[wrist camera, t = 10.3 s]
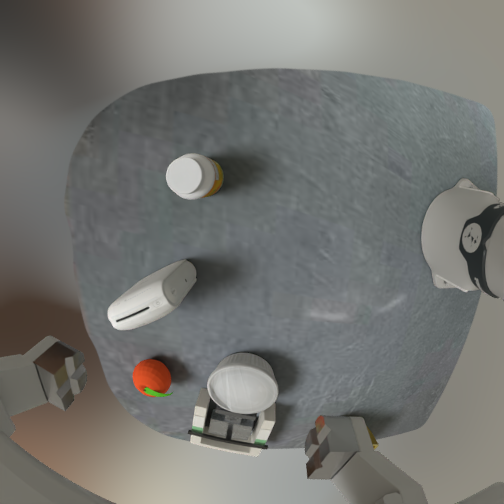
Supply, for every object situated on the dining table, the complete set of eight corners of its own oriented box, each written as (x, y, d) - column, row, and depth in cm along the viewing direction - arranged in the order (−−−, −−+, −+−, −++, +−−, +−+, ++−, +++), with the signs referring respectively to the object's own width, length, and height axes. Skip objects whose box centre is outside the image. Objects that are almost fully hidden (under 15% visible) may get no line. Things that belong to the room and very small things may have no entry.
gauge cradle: (275, 402, 45) (275, 422, 40) (259, 439, 48) (258, 457, 43) (201, 387, 45) (195, 406, 40) (195, 426, 48) (190, 443, 43)
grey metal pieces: (278, 402, 45) (279, 425, 39) (264, 433, 47) (264, 454, 42) (198, 385, 45) (191, 407, 39) (193, 418, 47) (187, 439, 42)
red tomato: (185, 363, 44) (173, 389, 37) (177, 388, 46) (166, 413, 39) (144, 345, 44) (127, 368, 37) (139, 371, 45) (124, 394, 39)
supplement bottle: (192, 201, 37) (167, 208, 28) (181, 165, 36) (154, 160, 27) (228, 190, 36) (214, 192, 27) (218, 153, 35) (200, 143, 26)
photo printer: (188, 253, 39) (156, 283, 27) (202, 279, 40) (176, 317, 28) (136, 279, 41) (95, 312, 29) (149, 302, 41) (113, 341, 30)
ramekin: (200, 362, 44) (192, 381, 39) (254, 335, 42) (252, 354, 37) (237, 401, 46) (233, 421, 41) (289, 380, 44) (290, 400, 39)
